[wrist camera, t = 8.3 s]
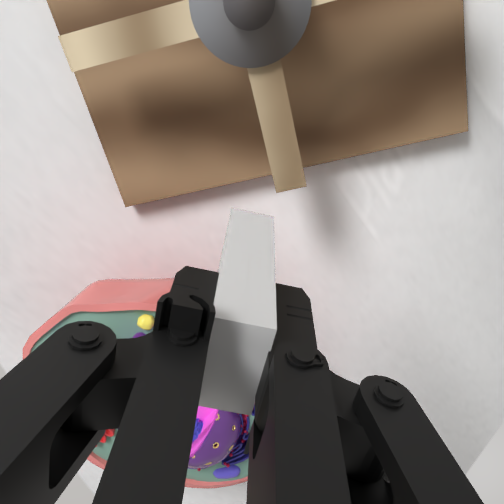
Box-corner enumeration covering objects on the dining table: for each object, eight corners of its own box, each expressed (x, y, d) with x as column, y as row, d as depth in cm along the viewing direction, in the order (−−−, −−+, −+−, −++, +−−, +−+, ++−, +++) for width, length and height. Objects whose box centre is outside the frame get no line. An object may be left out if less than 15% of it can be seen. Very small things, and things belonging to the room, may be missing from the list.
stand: (-1, -146, 27) (-45, -172, 23) (442, -296, 23) (475, -354, 20) (129, 201, 36) (113, 223, 32) (461, 127, 32) (486, 142, 29)
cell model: (126, 193, 35) (70, 266, 25) (333, 327, 40) (355, 433, 30) (32, 340, 42) (-43, 445, 32) (220, 440, 47) (207, 559, 37)
